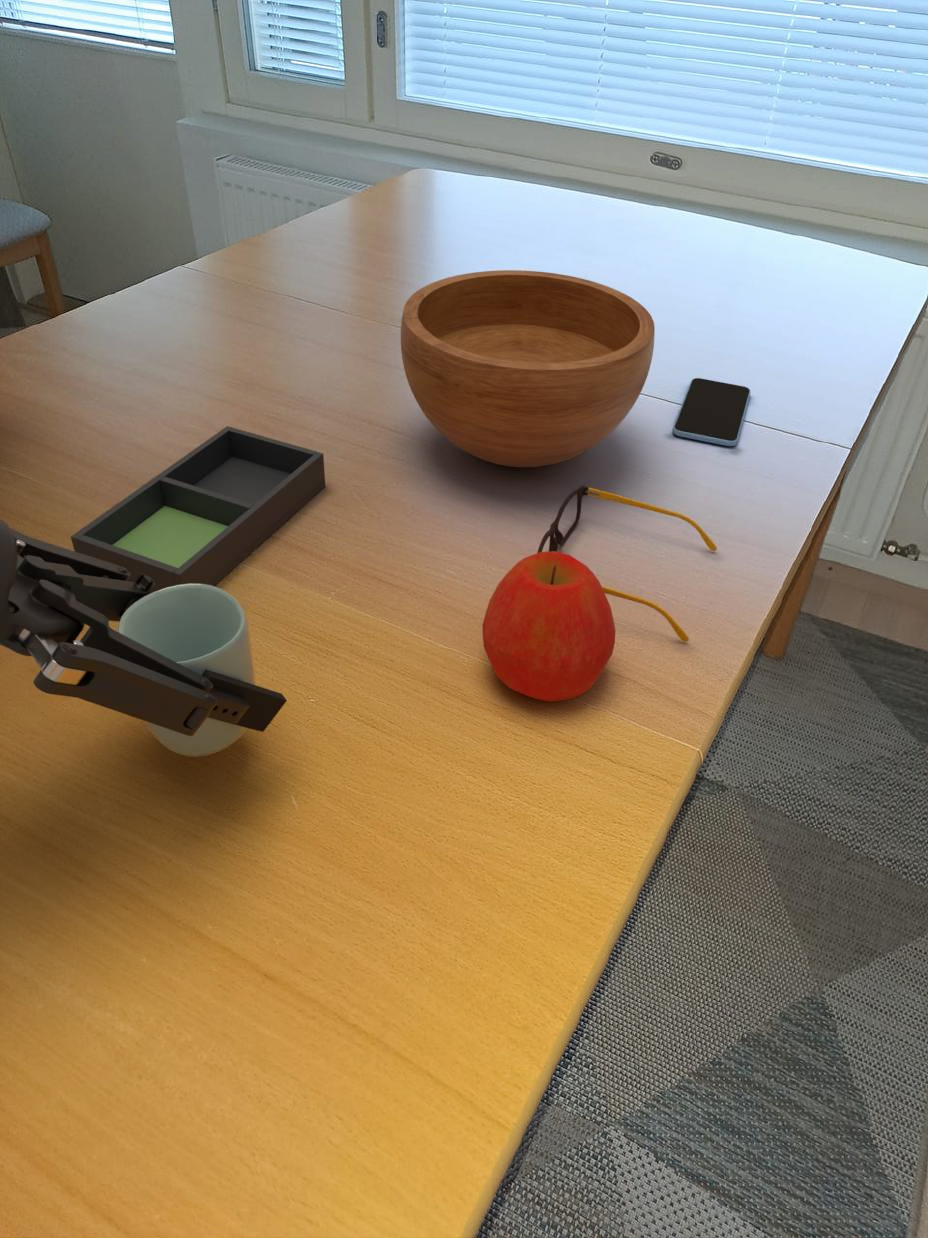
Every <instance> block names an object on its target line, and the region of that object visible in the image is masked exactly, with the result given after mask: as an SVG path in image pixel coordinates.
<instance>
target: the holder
mask: <svg viewBox="0 0 928 1238" xmlns="http://www.w3.org/2000/svg"><path fill="white" fill-rule="evenodd" d="M325 473H326V472H325V459H324V453H323V452H320V451H317V450H313V449H309V448H306V447H303V446H299V445H296V444H292V443H288V442H285V441H281V440H277V439H276V438H275V439H274V438H271V437H267V436H264V435H260V434H257V433H253V432H250V431H247V430H244V429H243V430H242V429H239V428H235V427H232V426H229V425H227V426H225V427H224V428H222V429H221V430H220V431H218V432H216V433H215V434H214V435H212V436H211V437H209V438H208V439H207V440H206V441H204V442H202V443H201V444H200V445H198V446H197V447H195V448H194V449H192V450H191V451H190V452H188V453H186V454H185V455H184V456H183V457H181V458H180V459H178V460H177V461H175V462H174V463H173V464H172V465H170V466H169V467H167V468H166V469H164V470H163V471H161V472H160V473H159V474H157V475H156V476H154V477H153V478H151V479H150V480H149V481H147V482H146V483H145V484H143V485H142V486H139V488H137V489H135V491H133V492H131V494H129V495H127V496H126V497H124V498H122V500H120V501H119V502H118V503H116V504H115V505H113V506H112V507H110V508H109V509H108V510H105V512H103V513H102V514H100V515H99V516H97V517H96V518H95V519H93V520H92V521H90V522H89V523H88V524H86V525H85V526H83V527H82V528H81V529H79V530H78V531H76V532H75V533H74V534H72V535H71V536H70V540H71V543H72V547H73V549H74V550H73V551H75V552H78V553H81V554H84V555H87V556H91V557H94V558H97V559H100V560H103V561H106V562H109V563H112V564H116V565H119V566H122V567H124V568H126V569H127V570H128V572H129V573H130V574H131V576H130V577H129V579H128V581H129V582H135V581H136V580H137V579H138V577H139V576H140V574H141V573H142V574H145V575H147V576H148V577H150V578H151V579H153V581H154V582H155V585H154V586H153V588H152V589H151V591H150V592H149V593H148V595H149V594H151V593H153V592H155V591H158V590H161V589H164V588H167V587H171V586H176V585H181V584H206V585H211V586H214V587H216V585H217V584H218V583H220V582H221V581H222V580H223V579H224V578H225V577H226V576H228V575H229V574H230V573H231V572H232V571H233V570H234V569H235V568H236V567H237V566H238V565H240V564H241V562H243V561H244V560H245V559H246V558H248V557H249V556H250V555H251V554H252V553H253V552H254V551H255V550H256V549H257V548H258V547H260V546H261V545H262V544H263V543H264V542H265V541H266V540H268V538H270V537H271V536H272V535H273V534H274V533H275V532H277V530H279V529H280V528H281V527H282V526H283V525H284V524H285V523H286V522H287V521H288V520H290V519H291V518H292V517H293V516H294V515H295V514H297V513H298V512H299V511H300V510H301V509H302V508H303V507H304V506H305V505H307V504H308V503H309V502H311V500H312V499H313V498H315V496H317V495H318V494H319V493H321V491H322V490H323V489H324V488H326V487H327V486H326V474H325ZM106 577H107V576H105V575H103V576H102V578H106Z"/></svg>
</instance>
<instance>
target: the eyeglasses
mask: <svg viewBox="0 0 928 1238" xmlns="http://www.w3.org/2000/svg"><path fill="white" fill-rule="evenodd" d="M575 496H576V501H577V502H576V514H575V519H574V521H573V523H572V525H571V526H570V527H569V529H568V530H567V532H566V533H565V535H563V533H562V532H561V531H560V529H559V523H560V520H561V518H562V516H563V513H564V511H565V509H566V507H567V505H568V504H569V503H570V500H571V499H573V498H574V497H575ZM584 496H589V497H592V498H597V499H601V500H604V501H612V502H614V503H615V502H616V503H619V504H624V505H628V506H631V507H634V508H640V509H643V510H647V511H652V512H654V513H655V512H656V513H659V514H663V515H667V516H670V517H675V518H678V519H680V520H682V521H684V522H686V523H688V524H689V525H690V526H692V527H693V528H694V529H695V530H696V531H697V532H698V534H699V535H700V537H701V538H702V540H703V541H704V543H705V545H706V546H707V548H708V549H709V550H710V551H711V552H716V551H717V550H718V547H717V545H716V544H715V542H714V541H713V540H712V539H711V538H710V537H709V535H708V534H707V533H706V532H705V530H704V529H703V528H702V527H701V526H700V525H699V524H698V523H697V522H696V521H694V519H692V518H690V517H688V516H687V515H684V514H683V513H679V512H676V511H672V510H669V509H665V508H662V507H659V506H656V505H652V504H648V503H645V502H642V501H638V500H635V499H632V498H628V497H625V496H622V495H619V494H615V493H611V492H608V491H604V490H601V489H597V488H592V487H588V486H586V485H581V486H579V487H578V488H576V489H574V490H573V491H572V492H571V493H569V495H568V496H567V497H566V498H565V499H564V500H563V502H562V504H561V505H560V508H558V509H559V510H558V512H557V515H556V517H555V519H554V520H553V522H552V523H551V524H550V525H549V529H548V530H547V531H546V532H545V533H544V535H543V537H542V539H541V541H540V544H539V546H538V548H537V552H536V554H537V553H539V552H543V550H544V547H545V544H546V542H547V541H548V539H549V543H548V544H549V545H548V552H551V551H555V552H558V549H559V546H563V545H564V544H565V543H566V542H567V540H568V539H569V537H570V535H571V534H572V533H573V531H574V530H575V528H576V527H577V526H578V524H579V522H580V518H581V515H582V514H581V513H582V503H583V498H584ZM601 586H602V589H603V591H604V593H605V595H610V596H613V597H617V598H621V599H624V600H628V601H630V602H631V601H632V602H636V603H638V604H643V605H645V606H647V607H649V608H652V609H653V610H655V611H657V612H658V613H659V614H661V615H662V616H663V617H664V618H665V619H666V621H668V623H669V624H670V626H671V628H672V629H673V631H674V632H675V633H676V635H677V636H678V638H679V639H680V640H681V641H682V642H685V643H687V642H689V640H690V638H689V636H688V634H687V633H686V631H684V629H683V628H682V627H681V626H680V625H679V624H678V623H677V622H676V621H675V619H674V618H673V617H672V616H671V615H670V614H669V613H668V612H667V611H666V610H665V609H664V608H662V607H661V606H659V605H658V604H657V603H654V602H652V601H649V600H647V599H644V598H641V597H638V596H636V595H635V596H634V595H632V594H628V593H626V592H622V591H620V590H616V589H613V588H610V587H607V586H603V585H601Z"/></svg>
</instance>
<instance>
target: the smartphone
mask: <svg viewBox="0 0 928 1238" xmlns="http://www.w3.org/2000/svg"><path fill="white" fill-rule="evenodd" d="M751 393H752V392H751V389H750V388H749V387H747V386H744V385H739V384H734V383H728V382H723V381H717V380H712V379H708V378H707V379H706V378H701V377H695V378H693V379H691V381H690V383H689V385H688V387H687V389H686V393H685V395H684V398H683V401H682V403H681V405H680V408H679V409H678V411H677V414H676V417H675V419H674V422H673V426H672V434H674V435H675V436H678V437H681V438H686V439H691V440H695V441H701V442H706V443H710V444H715V445H721V446H727V447H733V446H736V445H737V444H738V442H739V438H740V434H741V431H742V426H743V423H744V419H745V416H746V411H747V408H748V404H749V399H750V396H751Z"/></svg>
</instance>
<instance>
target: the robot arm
mask: <svg viewBox="0 0 928 1238" xmlns="http://www.w3.org/2000/svg"><path fill="white" fill-rule="evenodd" d="M103 575H105V576H107V577H106V578H102V576H103ZM130 576H131V574H130V573H129V572H128V570H127V569H126V568H124V567H122V566H119V565H116V564H112V563H109V562H106V561H103V560H100V559H97V558H94V557H91V556H87V555H84V554H81V553H78V552H75V550H72V549H69V548H65V547H62V546H60V545H59V546H58V545H56V544H52V543H49V542H46V541H43V540H40V539H37V538H33V537H32V536H29V535H26V534H24V533H22V532H20V531H18V530H15V529H14V528H11V527H10V525H9V524H8V523H7V522H6V521H4V520H3V519H1V518H0V646H3V647H4V648H6V649H9V650H10V651H13V652H14V653H16V654H18V655H20V656H25V657H32V659H34V661H35V662H36V664H37V665H38V666H39V668H40V671H39V672H38V673H37V675H36V676H35V678H34V679H33V682H32V683H33V685H34V687H36V688H37V690H39V691H41V692H42V693H45V694H48V695H53V696H62V697H68V698H69V697H71V698H77V699H80V700H83V701H85V702H88V703H92V704H95V705H98V706H100V707H104V708H107V709H109V710H113V711H115V712H118V713H121V714H123V715H127V716H130V717H132V718H136V719H138V720H141V721H143V722H144V721H147V722H149V723H152V724H155V725H158V726H161V727H164V728H167V729H170V730H173V731H176V732H179V733H181V734H184V735H187V736H193V735H194V734H195V732H196V731H197V730H198V729H199V727H200V726H201V725H202V723H203V722H204V721H205V719H206V718H207V717H208V718H212V719H216V720H219V721H223V722H227V723H231V724H234V725H238V726H242V727H246V728H247V729H249V730H253V731H257V732H261V733H264V732H265V731H266V729H267V728H268V726H269V725H270V724H271V723H272V722H273V720H274V718H276V716H277V714H278V713H279V712H280V711H281V709H282V708H283V707H284V705H285V704H286V703H287V702H288V700H287V698H286V697H285V695H284V694H283V693H281V692H278V691H276V690H272V689H269V688H265V687H263V686H260V685H257V684H256V685H253V684H250V683H247V682H244V681H241V680H238V679H234V678H231V677H228V676H225V675H222V674H219V673H216V672H213V671H209V670H205V671H204V673H203V674H202V675H199V674H197V673H196V672H194V671H192V670H190V669H188V668H186V667H184V666H182V665H180V664H178V663H176V662H174V661H173V660H171V659H169V658H167V657H165V656H163V655H161V654H159V653H157V652H155V651H153V650H151V649H149V648H148V647H146V646H144V645H142V644H140V643H138V642H136V641H134V640H132V639H130V638H128V637H126V636H125V635H123V634H121V633H119V632H118V630H115V629H113V628H112V627H110V622H118V623H119V622H120V619H121V617H122V616H123V614H124V613H125V612H126V610H127V609H128V608H129V607H130V606H132V605H133V604H134V603H135V602H137V601H138V600H140V599H141V598H143V597H145V596H147V595H148V593H149V592H150V591H151V589H152V588H153V586H154V585H155V582H154V581H153V579H151V578H150V577H148V576H147V575H145V574H142V573H141V574H140V576H139V577H138V579H137V580H136V581H135V582H129V581H128V579H129V577H130ZM85 625H86V626H88V629H87V630H86V632H85V633H84V634H83V636H82V637H81V639H80V640H78V639H77V638H78V637H79V636H80V634H81V633H82V631H83V630H84V628H85Z"/></svg>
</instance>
